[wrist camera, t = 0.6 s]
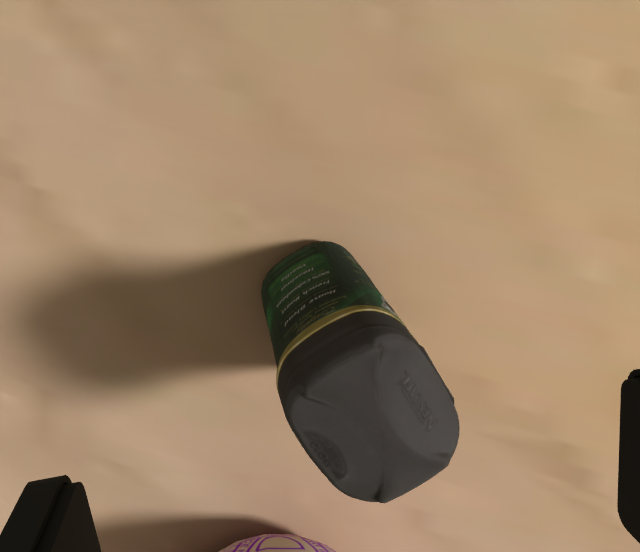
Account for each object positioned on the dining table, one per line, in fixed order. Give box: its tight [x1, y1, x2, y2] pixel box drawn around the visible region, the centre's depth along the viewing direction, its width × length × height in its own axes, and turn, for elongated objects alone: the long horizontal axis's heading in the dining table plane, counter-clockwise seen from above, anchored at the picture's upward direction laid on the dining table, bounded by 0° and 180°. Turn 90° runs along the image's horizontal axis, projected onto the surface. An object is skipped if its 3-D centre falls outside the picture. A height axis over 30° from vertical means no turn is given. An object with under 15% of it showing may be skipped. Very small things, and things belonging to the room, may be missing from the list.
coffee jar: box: [261, 241, 459, 503], centre depth 37 cm, size 10×8×19 cm
